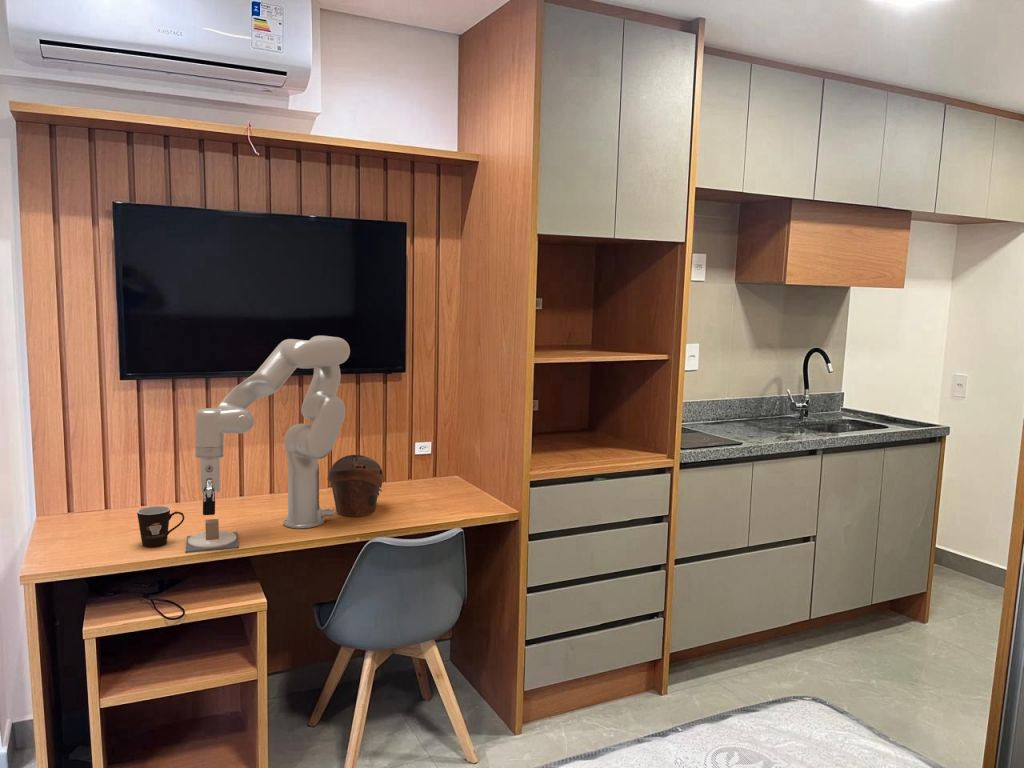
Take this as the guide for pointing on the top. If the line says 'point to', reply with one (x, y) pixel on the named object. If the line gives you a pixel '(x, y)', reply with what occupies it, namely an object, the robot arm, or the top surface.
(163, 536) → the coffee mug
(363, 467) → the brown tapered piece
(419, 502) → the top surface
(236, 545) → the mat
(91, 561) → the top surface
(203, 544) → the lid
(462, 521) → the top surface
